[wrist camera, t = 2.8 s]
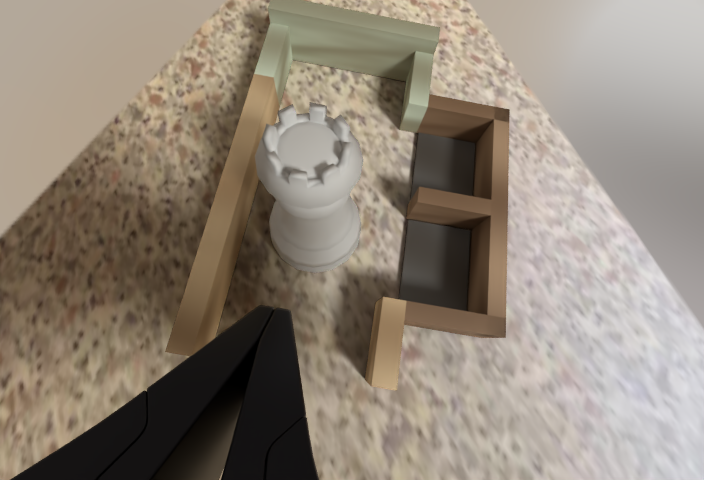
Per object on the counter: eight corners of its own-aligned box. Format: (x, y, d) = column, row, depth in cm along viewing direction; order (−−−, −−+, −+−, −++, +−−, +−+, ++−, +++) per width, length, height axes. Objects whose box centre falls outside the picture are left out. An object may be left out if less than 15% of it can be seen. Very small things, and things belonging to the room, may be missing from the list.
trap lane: (479, 398, 15) (515, 412, 12) (188, 350, 14) (154, 352, 12) (491, 84, 20) (518, 42, 17) (280, 44, 20) (272, -6, 17)
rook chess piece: (373, 255, 16) (414, 183, 9) (289, 288, 16) (254, 240, 8) (340, 180, 18) (351, 58, 10) (259, 208, 17) (204, 98, 9)
